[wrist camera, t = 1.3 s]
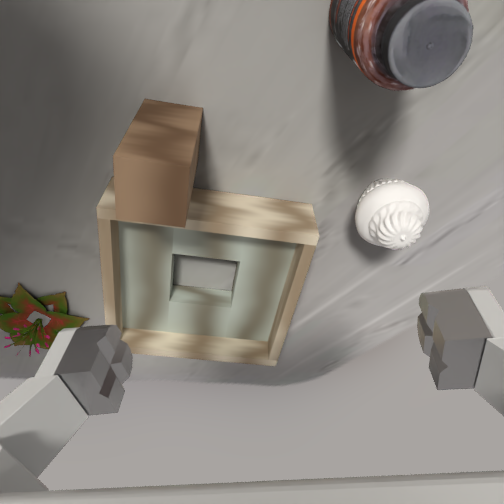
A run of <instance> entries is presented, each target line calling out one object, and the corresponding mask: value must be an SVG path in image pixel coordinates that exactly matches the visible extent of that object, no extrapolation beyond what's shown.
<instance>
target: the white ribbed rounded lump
mask: <svg viewBox="0 0 504 504" xmlns="http://www.w3.org/2000/svg"><path fill="white" fill-rule="evenodd" d="M428 216H429V202H428V199H427V197H426V195H425V193H424V192H423V191H422V190H421V189H419V188H418V187H416V186H414V185H411V184H409V183H408V182H403V180H395V179H381V180H377V181H374V183H371V184H370V185H369V187H367V188H366V190H365V191H364V193H363V195H362V196H361V198H360V200H359V203H358V205H357V209H356V214H355V223H356V228H357V231H358V233H359V234H360V236H361V237H362V238H363V239H364V240H366V241H367V242H369V243H371V244H374V245H377V246H384V247H386V248H390V249H391V250H397V249H400V250H402V249H404V248H405V247H410V245H411V244H412V243H416V239H417V238H419V237H420V236H421V235H420V232H421V231H422V230H423V227H424V225H425V223H426V221H427V219H428Z"/></svg>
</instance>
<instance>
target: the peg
mask: <svg viewBox="0 0 504 504" xmlns="http://www.w3.org/2000/svg"><path fill="white" fill-rule="evenodd" d="M202 112H203V108H199V107H193V106H187V105H180V104H174V103H168V102H162V101H156V100H149V99H144V101H143V103H142V105H141V107H140V108H139V110H138V112H137V114H136V116H135V117H134V119H133V121H132V123H131V125H130V126H129V128H128V130H127V132H126V134H125V135H124V137H123V139H122V141H121V143H120V144H119V146H118V148H117V150H116V152H115V153H114V155H113V166H114V188H115V210H116V219H119V220H127V221H135V222H143V223H151V224H159V225H167V226H175V227H183V228H185V226H186V221H187V215H188V210H189V205H190V200H191V194H192V189H193V184H194V178H195V173H196V168H197V163H198V155H199V144H200V133H201V123H202Z"/></svg>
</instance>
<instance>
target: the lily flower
mask: <svg viewBox="0 0 504 504" xmlns="http://www.w3.org/2000/svg"><path fill="white" fill-rule="evenodd" d="M65 293H66V292H63V293H58V294H55V295H48V296H43V297H40V298H37V299H36V300H35V299H34V298H33V297H32V296H31V295H30V294H29V293H28V292H27V291H26V290H24V289H23V288H22V286H21V285H20V284H19V283H18V287H17V288H16V290H15V294H13V296H12V298H8V297H1V296H0V313H1V314H3V315H1V316H0V329H2V330H4V331H5V332H8V333H10V337H5V338H6V339H10V338H11V339H12V341H13V342H15V343H13V344H14V346H17V345H23V344H24V345H30V352H29V353H30V355H31V345H32V344H34V345H35V349H36V352H37V353H38V354H39V350H38V349H37V347H40V348H44V349H50V347H51V345H52V344H53V342H54V340H55V338H56V336H57V334H58V333H59V332H60V331H61V330H62V329H65V328H78V327H80V326H81V325H82V324H83V323H84V321H87V320H88V319H89V318H82V317H76V316H71V315H67V314H66V313H67V301H66V298H65ZM6 303H7V304H6ZM8 304H11V306H12V308H13V309H14V310H15V311H17V312H19V313H16V312H15V311H14V310H13V309H11V308H10V306H9V305H8ZM51 304H53V307H54V312H52V311H49V312H47V311H46V309H45V307H44V306H45V305H51ZM33 311H37V312H39V313H41V314H44V315H46V316H48V317H49V318H51V320H50V322H49V323H48V325H46V326H45V327H44V328H43V325H42V319H39V318H37V319H36V321H35V322H34V323H31V322H29V321H28V320H26V319H27V318H28V316H29V315H30V314H31V313H32V312H33ZM38 320H39V321H38ZM37 321H38V322H37ZM39 323H40V326H39ZM35 324H36V325H35ZM56 330H57V331H59V332H57V331H56ZM28 331H29V332H28ZM26 332H27V333H26ZM24 333H25V334H24ZM25 335H26V336H25ZM23 336H24V337H23ZM13 344H11V345H13ZM11 345H8V346H5V347H4V348H6V347H9V346H11ZM36 346H37V347H36ZM19 352H20V351H19ZM17 355H18V354H17ZM17 355H16V356H17ZM30 355H29V356H30Z"/></svg>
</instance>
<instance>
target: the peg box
mask: <svg viewBox="0 0 504 504" xmlns="http://www.w3.org/2000/svg"><path fill="white" fill-rule="evenodd" d="M96 209H97V222H98V235H99V247H100V260H101V273H102V285H103V298H104V310H105V323H106V325H117V326H118V328H119V329H120V331H121V333H122V334H121V337H120V340H122V341H124V342H125V343H127V344H128V346H129V348H130V349H131V353H134V354H145V355H156V356H167V357H178V358H189V359H201V360H212V361H223V362H234V363H245V364H256V365H267V366H276V364H277V361H278V358H279V355H280V352H281V349H282V346H283V343H284V340H285V337H286V334H287V331H288V328H289V325H290V322H291V319H292V316H293V313H294V310H295V307H296V304H297V301H298V298H299V296H300V293H301V290H302V287H303V284H304V281H305V278H306V275H307V272H308V269H309V266H310V263H311V260H312V257H313V254H314V251H315V248H316V245H317V242H318V239H319V232H318V228H317V224H316V220H315V216H314V212H313V208H312V204H307V203H300V202H293V201H286V200H278V199H271V198H264V197H257V196H249V195H242V194H235V193H227V192H220V191H213V190H206V189H198V188H193V189H192V194H191V200H190V205H189V210H188V215H187V221H186V226H185V228H183V227H175V226H167V225H159V224H151V223H143V222H135V221H127V220H119V219H116V210H115V188H114V177H112V178H111V180H110V182H109V184H108V186H107V188H106V190H105V192H104V194H103V196H102V198H101V200H100V201H99V203H98V205H97V207H96ZM175 254H181V255H189V256H198V257H206V258H215V259H223V260H232V261H237V266H236V271H235V276H234V281H233V287H232V291H226V290H217V289H208V288H199V287H190V286H180V285H173V270H174V255H175Z"/></svg>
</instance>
